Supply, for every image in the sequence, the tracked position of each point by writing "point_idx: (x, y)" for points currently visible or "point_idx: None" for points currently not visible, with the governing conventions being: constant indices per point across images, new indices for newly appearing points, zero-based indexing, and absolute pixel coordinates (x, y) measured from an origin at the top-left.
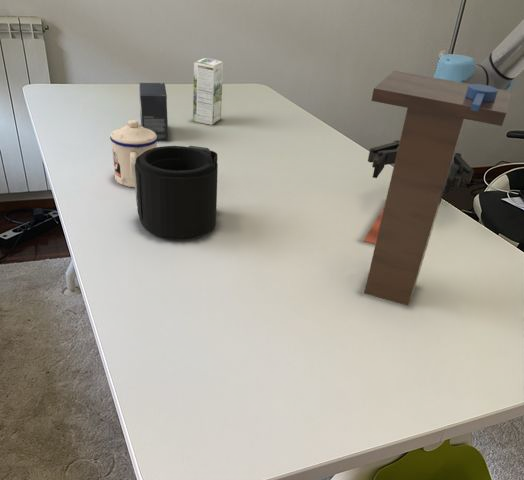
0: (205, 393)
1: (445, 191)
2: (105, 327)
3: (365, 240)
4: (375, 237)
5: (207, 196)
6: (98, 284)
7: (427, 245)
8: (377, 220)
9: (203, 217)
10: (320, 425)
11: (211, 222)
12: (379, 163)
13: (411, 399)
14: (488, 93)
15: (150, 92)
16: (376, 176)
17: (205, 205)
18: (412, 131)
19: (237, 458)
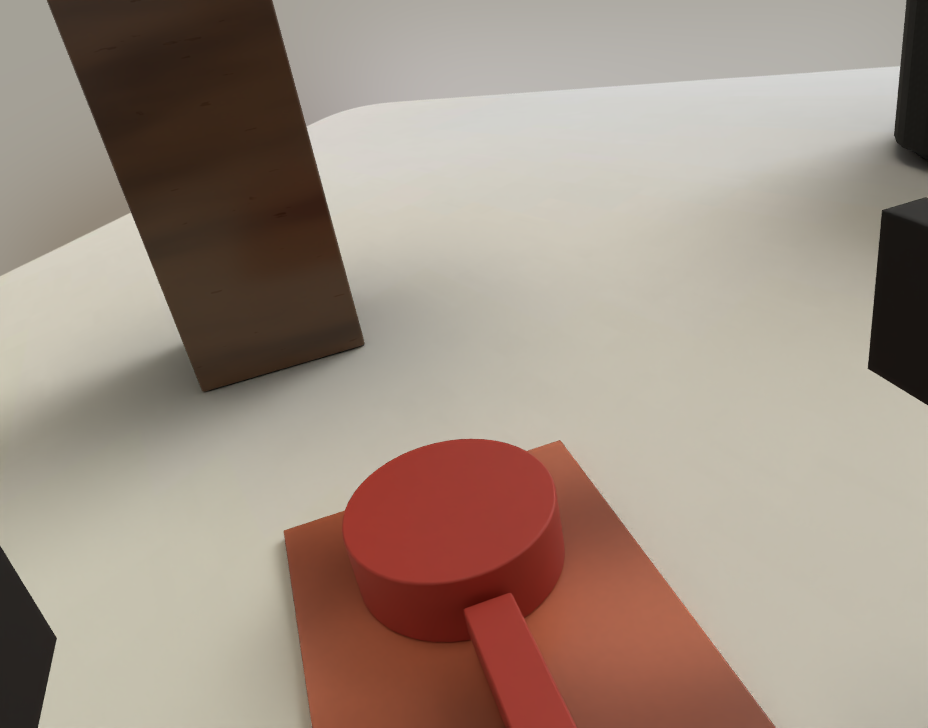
0: (418, 126)
1: (36, 619)
2: (635, 87)
3: (551, 444)
4: None
5: (916, 5)
6: (770, 80)
7: (132, 214)
8: (712, 663)
9: (903, 79)
10: None
11: (922, 121)
12: (904, 215)
13: (137, 233)
14: None
15: None
16: (870, 348)
17: (910, 37)
18: None
19: (320, 132)
